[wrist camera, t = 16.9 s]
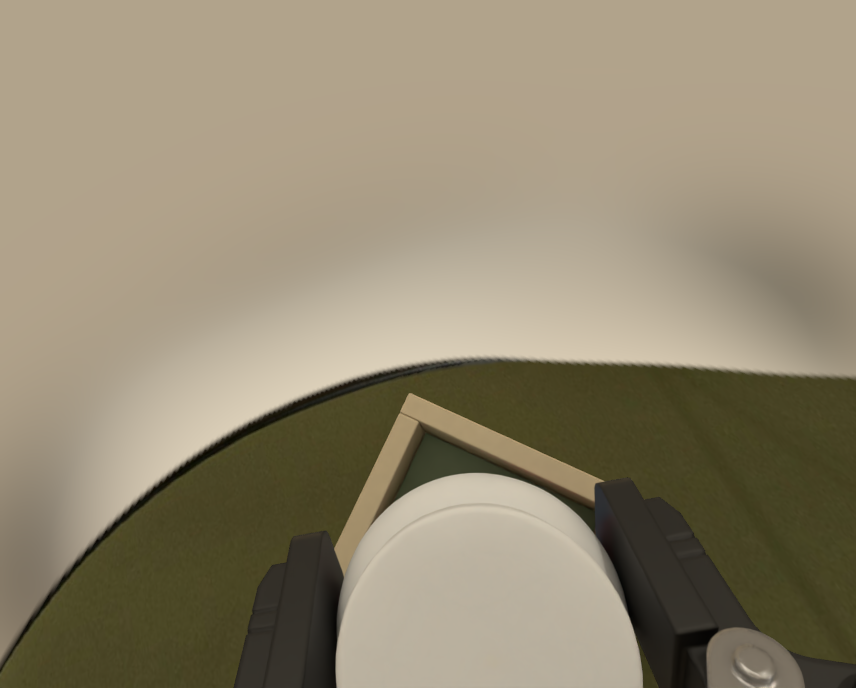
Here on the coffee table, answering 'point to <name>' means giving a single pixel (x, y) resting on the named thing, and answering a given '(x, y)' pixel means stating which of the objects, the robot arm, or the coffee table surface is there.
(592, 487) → the holder
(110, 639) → the coffee table surface
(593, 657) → the pill bottle
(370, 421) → the coffee table surface
